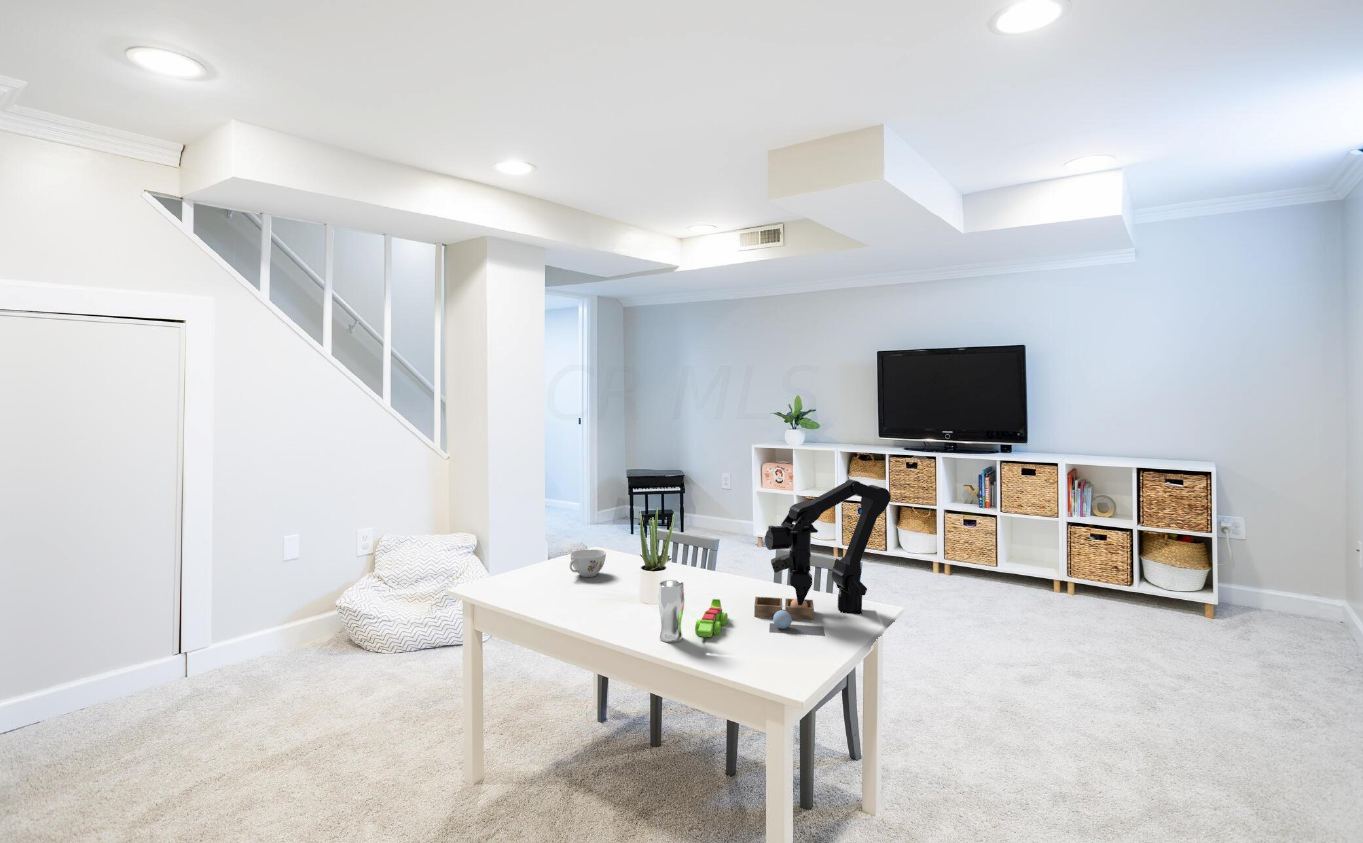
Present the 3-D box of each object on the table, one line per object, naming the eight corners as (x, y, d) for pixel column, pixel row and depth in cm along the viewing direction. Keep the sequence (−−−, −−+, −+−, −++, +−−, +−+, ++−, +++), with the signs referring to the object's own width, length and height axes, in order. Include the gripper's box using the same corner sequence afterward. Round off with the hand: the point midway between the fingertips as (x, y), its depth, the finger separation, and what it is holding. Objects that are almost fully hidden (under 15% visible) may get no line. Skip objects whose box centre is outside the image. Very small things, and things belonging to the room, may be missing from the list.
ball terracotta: (807, 612, 199) (807, 595, 199) (807, 617, 194) (808, 601, 194) (790, 611, 200) (790, 594, 200) (790, 616, 195) (790, 600, 195)
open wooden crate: (781, 611, 202) (782, 598, 202) (782, 620, 194) (782, 606, 194) (755, 609, 203) (755, 596, 203) (754, 618, 195) (754, 605, 195)
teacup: (589, 568, 246) (589, 546, 246) (613, 574, 238) (613, 552, 238) (557, 577, 235) (557, 554, 234) (582, 584, 227) (582, 560, 226)
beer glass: (657, 633, 183) (657, 579, 182) (682, 633, 183) (683, 579, 182) (658, 643, 176) (659, 587, 175) (685, 643, 176) (685, 587, 175)
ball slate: (791, 625, 188) (791, 608, 188) (791, 632, 183) (791, 614, 183) (773, 624, 189) (773, 607, 189) (773, 631, 184) (773, 613, 184)
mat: (823, 628, 188) (823, 626, 188) (825, 637, 181) (825, 635, 181) (769, 625, 190) (769, 623, 190) (769, 634, 183) (769, 632, 183)
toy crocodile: (714, 644, 176) (714, 621, 176) (689, 641, 178) (690, 618, 178) (731, 619, 195) (731, 598, 195) (708, 616, 197) (709, 596, 197)
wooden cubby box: (812, 612, 201) (812, 599, 200) (813, 622, 193) (813, 608, 192) (785, 611, 202) (785, 598, 202) (785, 620, 194) (785, 607, 194)
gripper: (773, 539, 206) (772, 588, 207) (772, 554, 188) (771, 608, 189) (809, 540, 205) (808, 590, 206) (812, 556, 186) (811, 611, 187)
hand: (799, 599), depth 197 cm, fingers open, 9 cm apart
